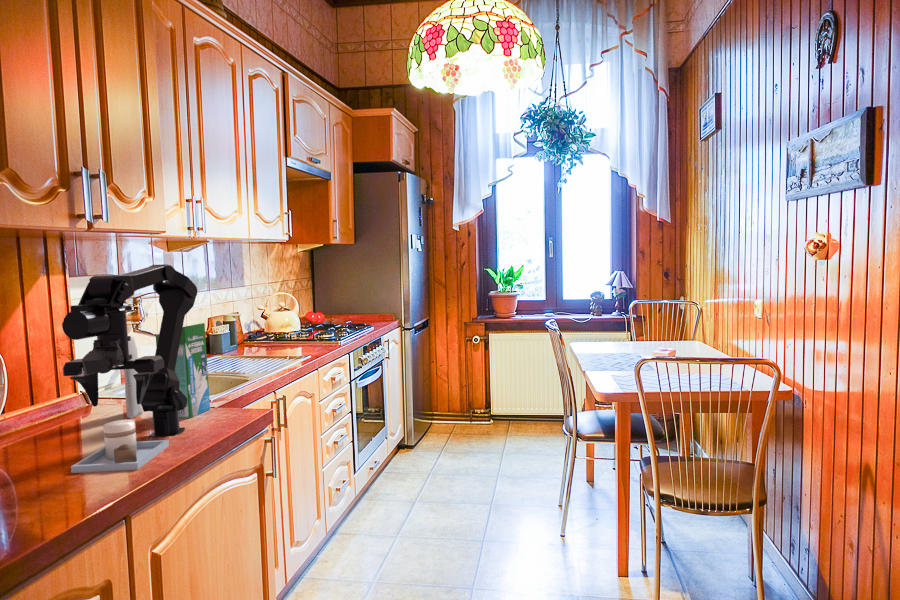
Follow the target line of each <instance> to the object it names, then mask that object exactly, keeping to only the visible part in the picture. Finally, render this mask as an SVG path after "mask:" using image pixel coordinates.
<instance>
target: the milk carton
mask: <svg viewBox="0 0 900 600" xmlns="http://www.w3.org/2000/svg"><path fill="white" fill-rule="evenodd" d="M158 338H159V334H156V335H155V346H156V348H157V343H158ZM156 348H155V349H156ZM207 356H208V354H207V340H206V326H205V322H202V323H197V324H191V325H185V326H183V328H182V333H181V339H180V344H179V350H178V355H177V361H176V366H175V373H176V375H177V377H178V379H179V382H180V384H179V390H180V391H181V392H182V393H183V394H184V395H185V396H186V398H187V406H186V407H185V408H184V409H183V410H179V411H178V413H179V419H181V418H183V419H192V418H193V417H196V416H198V415H200V414H202V413H203V414H204V413H205V412H208V411H210V410H211V401H210V386H209V373H208V372H209V370H208V357H207Z"/></svg>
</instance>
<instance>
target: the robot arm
mask: <svg viewBox="0 0 900 600" xmlns="http://www.w3.org/2000/svg"><path fill="white" fill-rule="evenodd" d="M150 286H152V287H153V288H152V290H153V291H154V292H155V293H156V294H157V295H158V303H159V305H160V308H161V309H162V311H163V312H162V313H163V314H162V319H161V324H160V327H159V328H160V329H159V332H158V333H159V338H158V343H157V348H155V349H156V350H155V353H154V355H147V356H145V355H143V356H141V357H138V359H135V360H133V361H129V360H131V359H132V354H131V355H129V348H128V341H131V337H132V336H131V335H128V324H127V323H128V322H127V311H128V312H129V311H132V310H133V306H131V305H130V304H129V303H127V302H126V300H129V299H130V298H131V297H133V296H134V294H135V292H136V291H138V290H141V289H144V288H146V287H150ZM197 295H198V286H196V284H195V283H194V282H193V281H192V279H191V278H189V276H187V275H185V274H183V273H181V272H179V271H177V270H176V269H175V267H173V266H172V265H169V264H152V265H150V266H148V267H143V268H139V269H137V270H134V271H130V272H127V273H123V274H105V275H103V274H100V275H98V274H97V275H93V276H91V277H90V278H89V282H88V283H87V284H86V287H85V289H84V291H83V294H82V295H81V298H80V300H79V302H78V303H77V305H76V304H74V305H70V312H68V313H67V314H66V315H65V316H64V318H63V321H62V323H61V328H62V331H63V333H64V334H65V335H66V337H68V339H71V340H75V341H77V340H78V341H79V340H83V339H84V340H85V339H91V338H95V337H96V339H94V340H93V343H92V344H93V346H92V347H93V348H92V350H90V351H88V352H87V353H86V355H84V356H83V357H82V358H77V359H74V360H73V359H72V360H70V361H67V362H65V363H64V364H63V367H62V376H63V377H69V379H70V380H74V381H76V382H78V384H79V385H80V386H81V387H82V388H83V390H84V391H85V394H86V395H87V397H88V399H89V401H90V402H91V403H90V404H91V405H92V407H97V406H98V405H99V404H98V403H99V374H108V373H109V372H110V371H115V370H116V371H117V370H118V371H119V370H120V371H121V370H124V369H134V370H135V371H136V372H137V374H134V375H133V376H134V378H135V380H136V399H137V404H141V409H142V410H143V412H145V413H146V412H151V413H152V424H153V425H152V427H153V432H152V433H150V434H148V436H147V437H148V438H157V437H158V438H159V437H174V436H175V437H176V436H178V435H180V434H181V433H182V432H185V430H186V427H183V426H182V427H181V426H180V418H179V413H178V411H179V410H183V409H184V408H185V407H186V406H187V398H186V396H185V395H184V394H183V393H182V392H181V391H180V390H179V384H180V382H179V379H178V377H177V375H176V373H175V366H176V361H177V355H178V350H179V344H180V339H181V333H182V328H183V327H184V321H185V317H186V315H187V314H188V313H189V312H190V310H191V309H192V308H193V307H194V305H195V301H196V298H197Z"/></svg>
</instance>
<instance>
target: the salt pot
mask: <svg viewBox="0 0 900 600" xmlns="http://www.w3.org/2000/svg"><path fill="white" fill-rule="evenodd" d="M114 460H115V463H124V462H136V461H137V456H136V446H134V445H129V444H124V445H121V446H120V447H118V448H116V449H114Z"/></svg>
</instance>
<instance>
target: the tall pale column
mask: <svg viewBox="0 0 900 600" xmlns="http://www.w3.org/2000/svg"><path fill="white" fill-rule="evenodd" d="M128 348H129V355H131V354H132V359H131V360H129V361H133V360H135V359H138V358H139V356H138V348H137V346H136V341H135V337H134V336H131V341H128ZM134 374H137V372H136V371H135V370H134V369H123V376H124V392H125V393H124V395H125V408H126V409H125V410H126V411H125V415H126V418H127V420H131V419H134V418H136V417H137V416H139V415H142V414H143V412H144V411H143V409H142V405H141V404H137V399H136V380H135V378H134V376H133V375H134Z"/></svg>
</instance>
